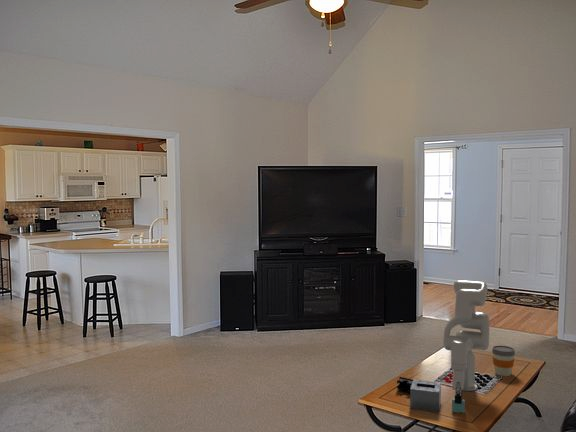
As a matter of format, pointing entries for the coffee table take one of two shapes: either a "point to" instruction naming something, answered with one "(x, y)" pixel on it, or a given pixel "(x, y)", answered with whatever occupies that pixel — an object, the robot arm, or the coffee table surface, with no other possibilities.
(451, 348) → the robot arm
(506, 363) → the reusable coffee cup
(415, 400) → the box
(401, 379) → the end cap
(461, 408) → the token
